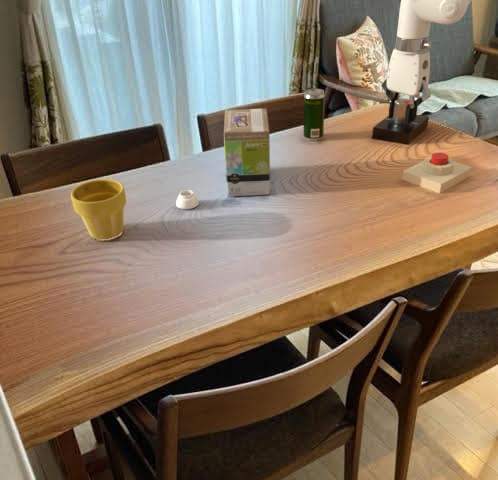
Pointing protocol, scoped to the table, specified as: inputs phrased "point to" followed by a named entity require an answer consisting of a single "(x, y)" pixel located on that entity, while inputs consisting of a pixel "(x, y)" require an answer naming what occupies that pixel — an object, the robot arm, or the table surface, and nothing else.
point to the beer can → (314, 114)
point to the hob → (400, 130)
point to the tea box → (247, 152)
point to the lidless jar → (187, 200)
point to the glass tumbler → (400, 111)
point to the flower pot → (100, 207)
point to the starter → (436, 174)
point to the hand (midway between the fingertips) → (401, 118)
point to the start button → (439, 159)
